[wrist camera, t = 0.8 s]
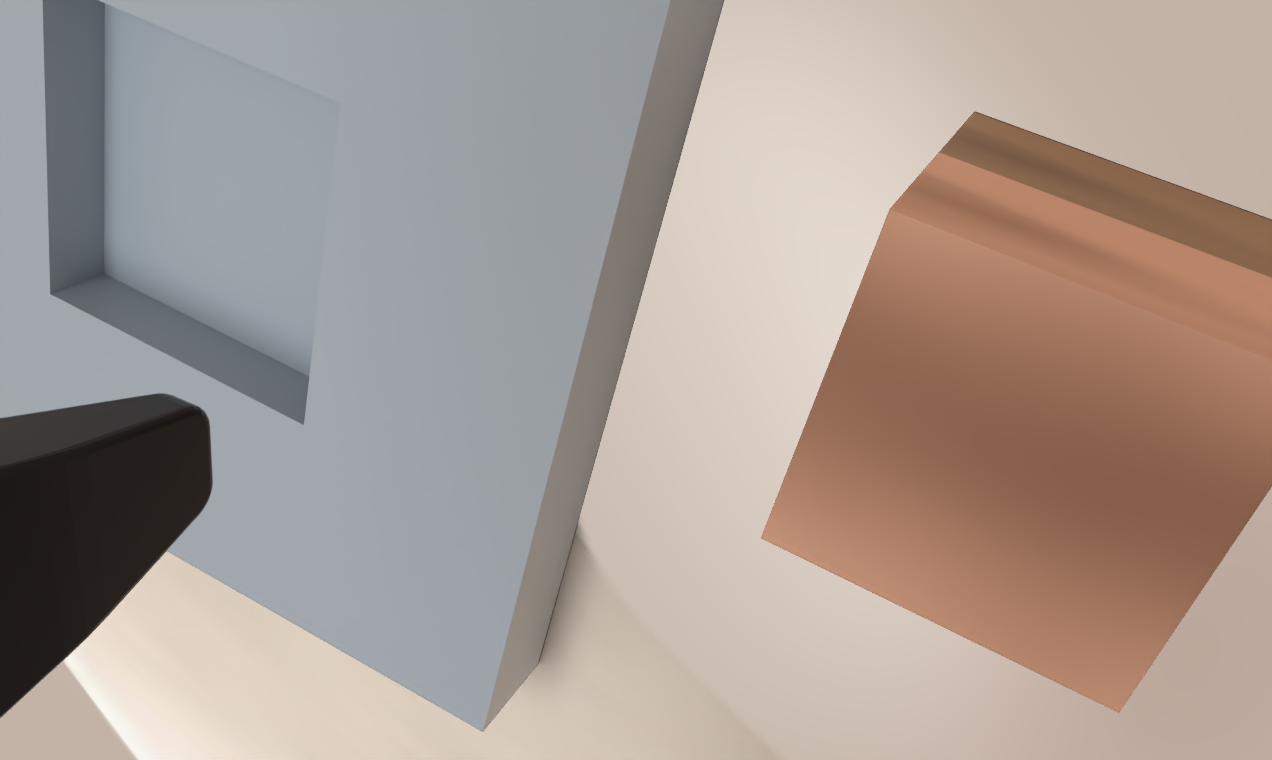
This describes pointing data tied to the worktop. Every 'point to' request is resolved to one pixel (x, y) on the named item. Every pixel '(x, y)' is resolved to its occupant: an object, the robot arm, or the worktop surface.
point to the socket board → (352, 284)
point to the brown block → (1043, 407)
